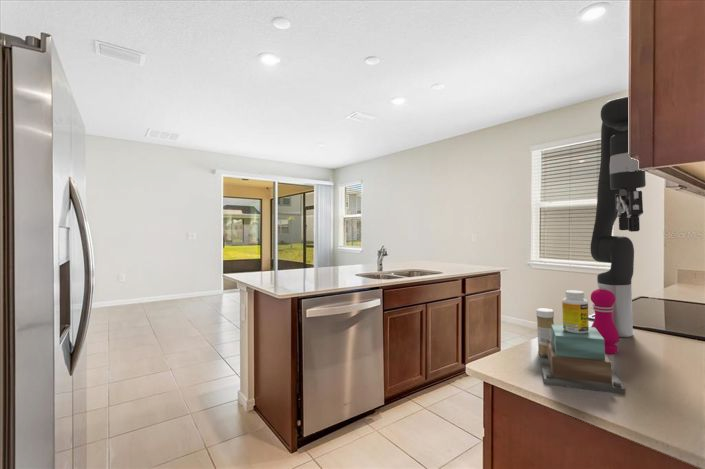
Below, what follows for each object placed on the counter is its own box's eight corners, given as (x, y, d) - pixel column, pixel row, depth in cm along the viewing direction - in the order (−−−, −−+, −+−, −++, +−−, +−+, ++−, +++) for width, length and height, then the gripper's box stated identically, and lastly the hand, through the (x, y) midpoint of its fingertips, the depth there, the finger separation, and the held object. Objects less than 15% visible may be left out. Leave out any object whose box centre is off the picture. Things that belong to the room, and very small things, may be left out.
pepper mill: (605, 356, 99) (603, 287, 98) (583, 347, 106) (581, 283, 105) (626, 353, 100) (624, 285, 100) (603, 344, 107) (601, 281, 107)
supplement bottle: (583, 336, 84) (582, 294, 84) (559, 331, 89) (558, 291, 88) (592, 331, 87) (591, 291, 87) (568, 326, 92) (567, 288, 92)
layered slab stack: (539, 359, 99) (538, 320, 99) (607, 366, 92) (606, 325, 92) (544, 383, 84) (543, 338, 84) (625, 394, 78) (623, 345, 77)
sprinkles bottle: (558, 354, 101) (556, 309, 101) (550, 358, 99) (548, 312, 99) (542, 350, 105) (541, 306, 105) (534, 354, 103) (533, 309, 102)
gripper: (603, 175, 101) (605, 230, 102) (617, 169, 88) (619, 232, 89) (635, 172, 98) (637, 229, 99) (654, 166, 85) (656, 231, 86)
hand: (628, 230), depth 94 cm, fingers open, 8 cm apart
